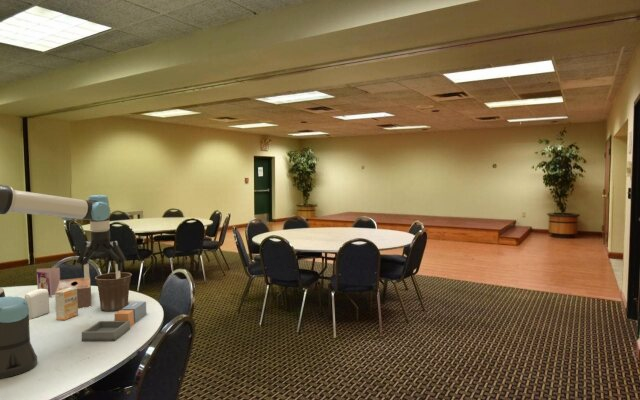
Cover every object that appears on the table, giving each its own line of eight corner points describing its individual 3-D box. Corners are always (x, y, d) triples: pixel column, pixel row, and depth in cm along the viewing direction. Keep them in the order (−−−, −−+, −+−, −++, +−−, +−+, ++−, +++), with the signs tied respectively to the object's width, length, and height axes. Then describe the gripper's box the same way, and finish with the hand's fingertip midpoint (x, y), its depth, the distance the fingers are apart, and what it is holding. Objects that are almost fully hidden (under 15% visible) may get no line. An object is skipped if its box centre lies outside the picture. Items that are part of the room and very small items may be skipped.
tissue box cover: (60, 298, 226) (59, 280, 225) (91, 294, 233) (90, 276, 232) (57, 311, 203) (56, 291, 203) (91, 307, 210) (90, 287, 209)
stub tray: (114, 340, 165) (114, 332, 164) (81, 341, 165) (81, 332, 165) (130, 328, 178) (129, 320, 177) (99, 329, 178) (99, 321, 178)
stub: (128, 327, 180) (128, 313, 179) (114, 327, 180) (114, 313, 179) (134, 323, 185) (133, 309, 184) (120, 323, 185) (120, 309, 184)
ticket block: (134, 322, 185) (134, 309, 185) (121, 322, 185) (120, 309, 185) (146, 313, 197) (146, 301, 197) (133, 314, 197) (133, 301, 197)
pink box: (36, 296, 230) (34, 269, 229) (49, 292, 237) (48, 266, 236) (50, 298, 226) (48, 270, 225) (63, 294, 232) (62, 267, 232)
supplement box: (65, 320, 189) (63, 292, 188) (55, 320, 190) (54, 291, 189) (78, 314, 197) (77, 287, 197) (70, 314, 198) (68, 287, 197)
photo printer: (30, 319, 191) (29, 292, 191) (23, 318, 193) (22, 292, 192) (51, 312, 201) (50, 287, 201) (44, 311, 203) (43, 286, 202)
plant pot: (130, 300, 219) (129, 270, 218) (135, 309, 205) (134, 276, 204) (95, 306, 210) (93, 274, 209) (97, 315, 196) (96, 281, 195)
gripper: (132, 228, 187) (134, 275, 188) (76, 229, 186) (78, 277, 187) (125, 231, 179) (127, 279, 181) (66, 232, 179) (68, 281, 180)
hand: (102, 278), depth 184 cm, fingers open, 13 cm apart
